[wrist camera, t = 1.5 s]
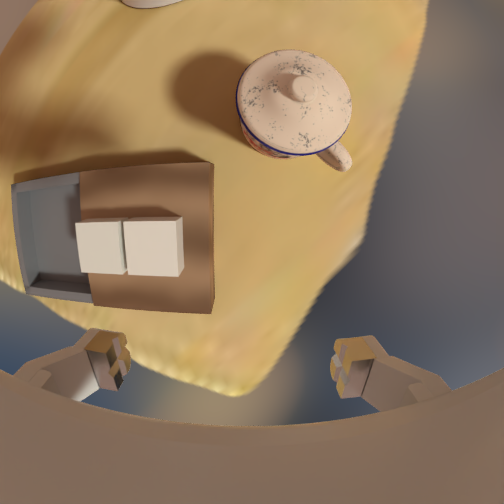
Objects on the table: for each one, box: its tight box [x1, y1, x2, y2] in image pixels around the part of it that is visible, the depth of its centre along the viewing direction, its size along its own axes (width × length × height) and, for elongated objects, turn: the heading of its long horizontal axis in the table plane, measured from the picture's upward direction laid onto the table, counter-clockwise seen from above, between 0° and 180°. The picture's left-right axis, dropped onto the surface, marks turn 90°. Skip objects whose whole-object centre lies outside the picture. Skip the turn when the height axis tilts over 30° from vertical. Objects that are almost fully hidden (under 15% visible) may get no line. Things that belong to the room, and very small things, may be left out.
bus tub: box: [11, 172, 93, 303], centre depth 27 cm, size 15×13×4 cm
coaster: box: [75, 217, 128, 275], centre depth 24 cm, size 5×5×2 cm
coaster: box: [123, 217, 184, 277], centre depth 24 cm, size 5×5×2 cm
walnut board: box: [80, 162, 215, 314], centre depth 27 cm, size 15×14×4 cm
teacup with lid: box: [236, 50, 352, 172], centre depth 21 cm, size 12×9×12 cm
